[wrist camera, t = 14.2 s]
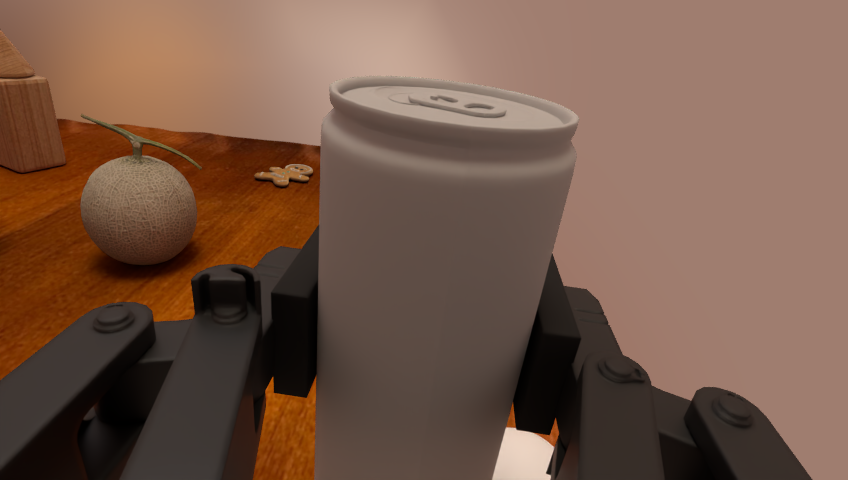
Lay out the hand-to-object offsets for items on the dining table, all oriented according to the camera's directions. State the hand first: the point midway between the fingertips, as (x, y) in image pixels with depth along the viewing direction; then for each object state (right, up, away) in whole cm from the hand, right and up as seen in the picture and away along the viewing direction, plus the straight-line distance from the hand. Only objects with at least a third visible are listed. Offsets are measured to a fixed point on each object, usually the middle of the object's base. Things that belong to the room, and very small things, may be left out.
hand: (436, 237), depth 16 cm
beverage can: (-1, -8, -2) cm, 9 cm away
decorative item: (-61, +11, +57) cm, 84 cm away
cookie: (-24, +11, +65) cm, 70 cm away
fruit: (-31, -2, +38) cm, 49 cm away
